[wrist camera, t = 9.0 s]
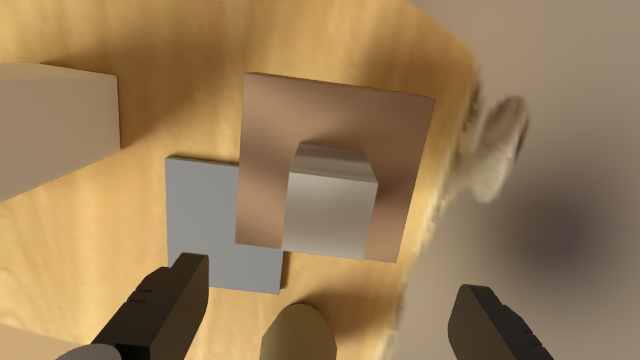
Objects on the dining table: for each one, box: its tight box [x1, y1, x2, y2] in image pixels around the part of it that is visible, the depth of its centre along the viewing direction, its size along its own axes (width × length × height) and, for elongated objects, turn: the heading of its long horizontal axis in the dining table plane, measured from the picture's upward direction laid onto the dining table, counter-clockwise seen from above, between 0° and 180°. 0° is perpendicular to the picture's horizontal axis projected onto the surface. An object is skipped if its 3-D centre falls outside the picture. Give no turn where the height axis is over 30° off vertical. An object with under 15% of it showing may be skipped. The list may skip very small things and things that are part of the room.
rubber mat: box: [165, 156, 284, 294], centre depth 34 cm, size 14×12×1 cm
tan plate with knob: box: [235, 72, 435, 263], centre depth 20 cm, size 11×11×10 cm
